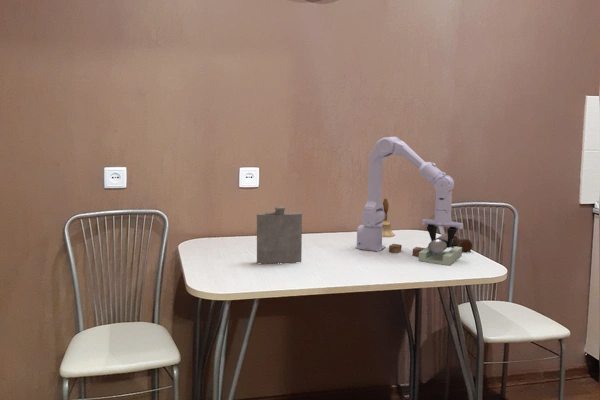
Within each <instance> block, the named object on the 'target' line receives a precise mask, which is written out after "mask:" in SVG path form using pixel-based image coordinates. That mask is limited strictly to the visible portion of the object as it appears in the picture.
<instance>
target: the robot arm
mask: <svg viewBox="0 0 600 400" xmlns="http://www.w3.org/2000/svg"><path fill="white" fill-rule="evenodd" d="M392 155H394V156H402V158H403V157H404V159H405V160H407V161H408V162H409V163H411V164H412V165H413V166H415V167H416V168H417V169H418V171H419V172H418V173H419V175H420V176H422V178H424V179H425V180H426V181H427V182H428V183H430V185H432V186H433V188H434V190H435V203H434V205H435V206H434V219H432V218H431V219H429V218H423V219H422V220H421V222H422V223H421V225H422V226H426V230H427V232H428V234H429V237H430V242H432V241H433V240H435V239H436V238H437V229H438V227H441V228H447V231H446V234H448V241H447V249H450V248H452V247H451V243H452V240H453V237H454V235H455V236H456V233H457V231H458V230H462V229H464V222H458V221H457V222H456V221H452V220H451V218H452V204H453V189H454V187H455V180H454V179H453V178H452V176H451V175H449V174H448V175H446V174H447V173H446V172H444V171H442V170H440V169H439V168H438V167H437V164H436V163H435V162H431V161H425V160H424V159H423V158H421V157H420V155H418V154H417V153H416V152H415V151H414V149H412V148H411V147H410V146H409V145H408V144H407V143H406V142H405V141H403V140H401V139H400V137H398V136H396V135H395V136H388V137H387V136H384V137H382V138H380V139H379V140H377V141H375V145H374V147H373V148H372V150H371V152H370V153H369V156H368V181H367V202H366V204H364V208H363V213H362V215H361V222H362V224H360V225H359V226H358V227H357V230H356V246H355V249H360V250H365V251H372V252H380V251H382V250H383V249H385V248H386V247H387V246H385V245H383V237H382V229H383V227H382V226H383V225H382V222H383V221H384V219H385V212H384V209H383V202H382V192H383V172H384V167H383V166H384V161H385V160H386V159H388V158H389V157H390V156H392Z"/></svg>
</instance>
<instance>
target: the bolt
mask: <svg viewBox="0 0 600 400" xmlns="http://www.w3.org/2000/svg"><path fill="white" fill-rule="evenodd" d="M455 246H456V247H462V254H464V253H470V252H471V250H472V249H473V243H472V241H471V240H470V239H469V238H464V239H463V238H461V239H460V238H458V236H457V235H456V234H455V235H454V237H453V243H452V245H451V247H450V248H452V247H453V248H454V247H455Z"/></svg>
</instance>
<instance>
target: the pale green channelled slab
mask: <svg viewBox="0 0 600 400" xmlns="http://www.w3.org/2000/svg"><path fill="white" fill-rule="evenodd" d="M424 248H425V249H423V250H422V251H420V252H419V256H418V262H424V263H431V264H438V265H443V266H451V265H452V264H454V263H455V262H456V261H457V260H458V259H460V257H462V255H463V253H462V247H456V246H455V247H453V248H451V249H450V250H444V251H442V252H441V253H440V254H438V255H433V254H431V253H430V252H429V250H428V246H426V247H424Z"/></svg>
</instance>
